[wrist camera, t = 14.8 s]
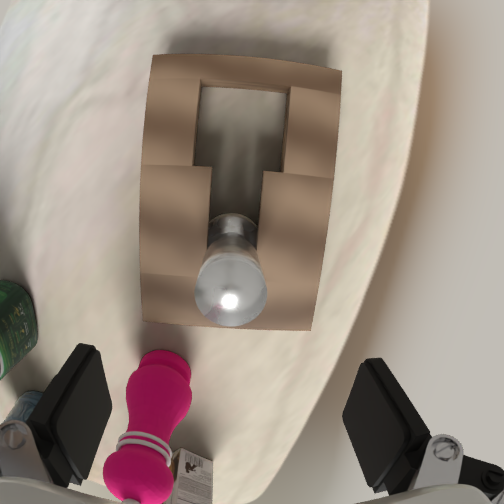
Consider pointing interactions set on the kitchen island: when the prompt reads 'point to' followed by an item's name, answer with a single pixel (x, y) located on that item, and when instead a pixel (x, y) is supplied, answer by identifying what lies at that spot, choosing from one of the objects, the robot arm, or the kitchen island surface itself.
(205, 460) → the coffee box
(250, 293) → the steel peg
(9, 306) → the coffee jar
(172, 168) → the keyhole board
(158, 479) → the pepper mill
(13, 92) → the kitchen island surface
